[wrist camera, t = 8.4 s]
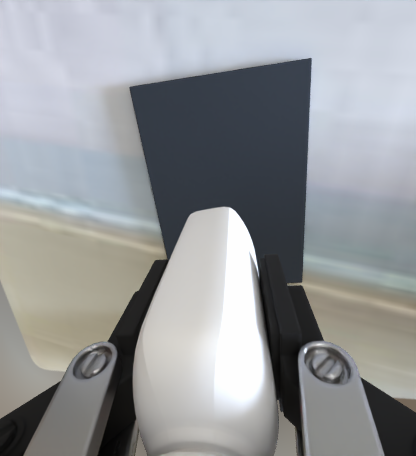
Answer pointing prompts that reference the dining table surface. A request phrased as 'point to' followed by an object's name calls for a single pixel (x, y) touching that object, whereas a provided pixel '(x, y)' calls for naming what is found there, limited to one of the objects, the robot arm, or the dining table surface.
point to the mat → (232, 153)
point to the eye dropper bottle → (207, 348)
